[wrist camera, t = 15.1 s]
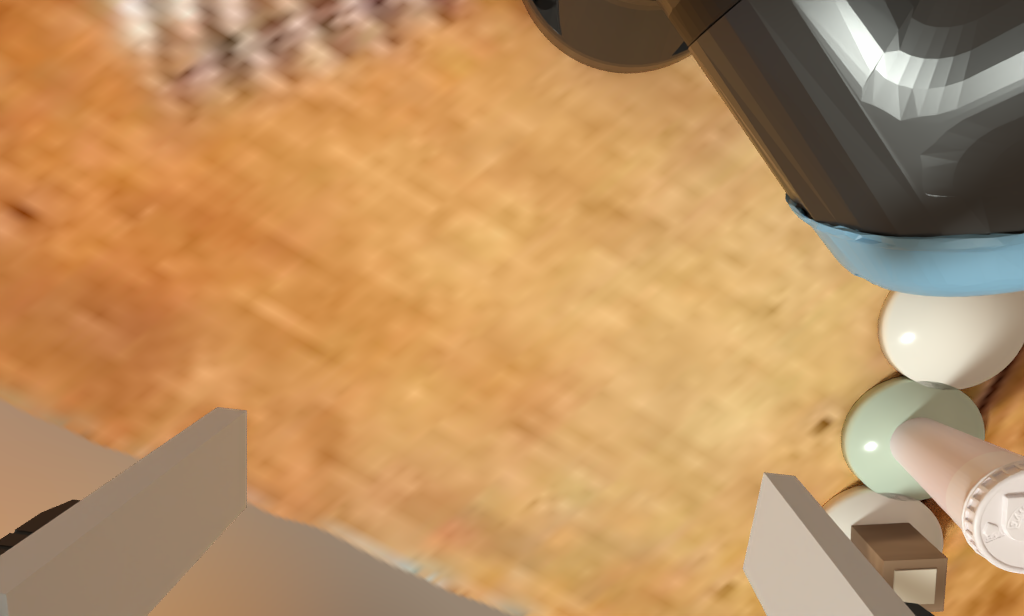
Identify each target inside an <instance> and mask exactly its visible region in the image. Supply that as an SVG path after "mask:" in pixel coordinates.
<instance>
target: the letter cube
mask: <svg viewBox="0 0 1024 616" xmlns="http://www.w3.org/2000/svg"><path fill="white" fill-rule="evenodd" d="M851 541H852V543H853V544H854V545H855V546H856V547H857V548H858V550H859V551H860V552H861V553H862V554H863V555H864V557H865V558H866V559H867V560H868V561H869V562H870V563H871V565H872V566H873V567H874V568H875V569H876V570H877V572H878V573H879V574H880V575H881V576H882V577H883V579H884V580H885V581H886V582H887V583H888V584H889V585H890V587H891V588H892V589H893V590H894V591H895V592H896V594H897V595H898V596H899V597H900V598H901V599H902V601H903V602H909V603H917V604H919V605H921V606H922V607H923V608H925V609H926V610H927V611H929V612H940V611H944V599H945V586H946V573H947V560H948V558H947V557H946V556H945V555H944V554H942V553H941V552H940V551H939V550H938V549H937V548H936V547H935V546H934V545H933V544H932V543H930V542H929V541H928V540H927V539H926V538H925V537H924V536H923V535H922V534H921V533H920V532H918V531H917V530H916V529H915V528H914V527H913V526H912V525H911V524H910V523H889V524H869V525H851Z"/></svg>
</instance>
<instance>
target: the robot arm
mask: <svg viewBox="0 0 1024 616" xmlns="http://www.w3.org/2000/svg"><path fill="white" fill-rule="evenodd" d="M522 1H523V3H524V5H525V7H526V9H527V11H528V13H529V15H530V17H531V18H532V20H533V21H534V23H535V24H536V26H537V27H538V28H539V30H540V31H541V32H542V33H543V34H544V35H545V37H546V38H547V39H548V40H549V41H550V42H551V43H552V44H553V45H555V46H556V47H557V48H558V49H559V50H561V51H562V52H564V53H565V54H566V55H568V56H569V57H571V58H573V59H575V60H576V61H578V62H580V63H583V64H585V65H587V66H590V67H593V68H596V69H599V70H604V71H608V72H616V73H640V72H647V71H653V70H657V69H660V68H664V67H666V66H669V65H672V64H674V63H676V62H679V61H681V60H683V59H685V58H686V57H688V56H690V55H691V54H692V55H693V57H694V58H695V60H696V61H697V63H698V64H699V66H700V67H701V69H702V70H703V72H704V73H705V74H706V76H707V77H708V79H709V80H710V82H711V83H712V85H713V86H714V88H715V89H716V91H717V92H718V94H719V95H720V96H721V98H722V99H723V101H724V102H725V104H726V105H727V107H728V108H729V110H730V111H731V113H732V114H733V115H734V117H735V118H736V120H737V121H738V123H739V124H740V126H741V127H742V129H743V130H744V132H745V133H746V135H747V136H748V137H749V139H750V140H751V142H752V143H753V145H754V146H755V148H756V149H757V151H758V152H759V154H760V155H761V157H762V158H763V159H764V161H765V162H766V164H767V165H768V167H769V168H770V170H771V171H772V173H773V174H774V176H775V177H776V179H777V180H778V181H779V183H780V184H781V186H782V187H783V189H784V190H785V192H786V201H787V203H788V204H789V206H790V208H791V209H792V211H793V212H794V213H795V214H796V215H797V216H798V217H799V218H800V219H802V220H803V221H804V222H806V223H807V224H809V225H810V226H811V227H812V228H813V229H814V230H815V232H816V233H817V234H818V236H819V237H820V238H821V240H822V241H823V242H824V244H825V245H826V246H827V248H828V249H829V250H830V251H831V253H832V254H833V255H834V257H835V258H836V259H837V260H838V262H839V263H840V264H841V265H842V266H843V267H845V268H846V269H847V270H848V271H850V272H851V273H852V274H854V275H856V276H858V277H862V278H864V279H866V280H868V281H869V282H871V283H872V284H875V285H878V286H880V287H882V288H885V289H888V290H892V291H896V292H901V293H907V294H913V295H921V296H935V297H969V296H984V295H995V294H1004V293H1012V292H1018V291H1024V0H522ZM246 507H247V411H246V410H238V409H229V408H221V407H217V408H215V409H214V410H212V411H211V412H210V413H208V414H207V415H205V416H204V417H202V418H201V419H199V420H198V421H196V422H195V423H193V424H192V425H191V426H189V427H188V428H186V429H185V430H183V431H182V432H180V433H179V434H177V435H176V436H174V437H173V438H172V439H170V440H169V441H167V442H166V443H164V444H163V445H161V446H160V447H158V448H157V449H155V450H154V451H153V452H151V453H150V454H148V455H147V456H145V457H144V458H142V459H141V460H139V461H138V462H137V463H135V464H133V465H132V466H131V467H129V468H128V469H126V470H125V471H123V472H122V473H120V474H119V475H118V476H116V477H115V478H113V479H112V480H110V481H109V482H107V483H106V484H104V485H103V486H101V487H100V488H98V489H97V490H95V491H94V492H93V493H91V494H90V495H88V496H87V497H85V498H84V499H82V500H81V501H80V500H71V501H68V502H66V503H64V504H61V505H59V506H56V507H54V508H52V509H49V510H47V511H44V512H42V513H40V514H39V515H37V516H35V517H34V518H32V519H31V520H29V521H28V522H26V523H25V524H23V525H22V526H20V527H19V528H17V529H16V530H15V532H14V533H9V534H8V535H6V536H5V537H3V538H2V539H0V616H147V615H148V614H149V613H150V612H151V611H152V610H153V608H154V607H155V606H156V605H157V604H158V603H159V602H160V601H161V600H162V599H163V598H164V597H165V595H166V594H167V593H168V592H169V591H170V590H171V589H172V588H173V587H174V586H175V585H176V584H177V582H178V581H179V580H180V579H181V578H182V577H183V576H184V575H185V573H187V572H188V570H189V569H190V568H191V567H192V566H193V565H194V564H195V563H196V562H197V561H198V560H199V558H200V557H201V556H202V555H203V554H204V553H205V552H206V551H207V550H208V549H209V547H210V546H211V545H212V544H213V543H214V542H215V541H216V540H217V539H218V538H219V537H220V536H221V535H222V533H223V532H224V531H225V530H226V529H227V528H228V527H229V526H230V525H231V524H232V522H233V521H234V520H235V519H236V518H237V517H238V516H239V515H240V514H241V513H242V512H243V511H244V509H245V508H246ZM743 570H744V572H745V574H746V576H747V578H748V580H749V582H750V584H751V586H752V588H753V590H754V592H755V594H756V595H757V597H758V599H759V601H760V603H761V605H762V607H763V609H764V611H765V613H766V615H767V616H934V615H933V614H931V613H930V612H929V611H927V610H926V609H925V608H923V607H922V606H921V605H919V604H917V603H909V602H903V601H902V599H901V598H900V597H899V596H898V595H897V594H896V592H895V591H894V590H893V589H892V588H891V587H890V585H889V584H888V583H887V582H886V581H885V580H884V579H883V577H882V576H881V575H880V574H879V573H878V572H877V570H876V569H875V568H874V567H873V566H872V565H871V563H870V562H869V561H868V560H867V559H866V558H865V557H864V555H863V554H862V553H861V552H860V551H859V550H858V548H857V547H856V546H855V545H854V544H853V543H852V541H851V540H850V539H849V538H848V537H847V536H846V535H845V533H844V532H843V531H842V530H841V529H840V528H839V526H838V525H837V524H836V523H835V522H834V521H833V519H832V518H831V517H830V516H829V515H828V514H827V513H826V511H825V510H824V509H823V508H822V507H821V506H820V504H819V503H818V502H817V501H816V500H815V499H814V497H813V496H812V495H811V494H810V493H809V492H808V491H807V489H806V488H805V487H804V486H803V485H802V484H801V482H800V481H799V480H798V479H797V478H796V477H795V476H790V475H782V474H774V473H765V472H764V474H763V479H762V483H761V488H760V492H759V497H758V501H757V506H756V511H755V515H754V520H753V524H752V529H751V533H750V538H749V543H748V547H747V552H746V556H745V561H744V565H743Z"/></svg>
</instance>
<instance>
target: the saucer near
mask: <svg viewBox="0 0 1024 616" xmlns="http://www.w3.org/2000/svg"><path fill="white" fill-rule="evenodd" d="M878 338H879V344H880V347H881V350H882V352H883V354H884V356H885V358H886V359H887V360H888V362H889V363H890V364H891V365H892V366H893V367H894V369H896V370H897V371H898V372H899V373H901V374H902V375H904V376H906V377H908V378H910V379H912V380H914V381H915V382H917V383H919V384H920V383H921V384H922V385H924V386H926V385H925V384H928V385H927V387H930V386H931V387H933V386H934V385H935V384H936V385H938V386H935V387H936V388H935V387H934V388H935V389H938V387H939V389H940V387H941V390H942V389H944V390H945V389H946V390H947V389H948V390H949V388H951V387H949V388H946V387H945V388H944V385H943V384H947V385H948V386H952V387H955V388H957V389H965V388H969V387H973V386H975V385H978V384H981V383H983V382H985V381H987V380H989V379H991V378H992V377H994V376H995V375H997V374H998V373H999V372H1001V371H1002V370H1003V369H1005V368H1006V367H1007V366H1008V365H1009V364H1010V363H1011V362H1012V360H1013V359H1014V358H1015V356H1016V355H1017V354H1018V352H1019V351H1020V349H1021V347H1022V346H1023V343H1024V291H1018V292H1012V293H1004V294H995V295H984V296H969V297H935V296H921V295H913V294H907V293H901V292H896V291H892V290H891V291H890V292H889V294H888V295H887V297H886V299H885V301H884V303H883V306H882V308H881V311H880V315H879V319H878ZM918 381H919V382H918ZM928 381H929V383H930V384H929V383H928ZM923 382H924V383H923ZM925 382H926V383H925ZM936 382H937V383H936ZM933 383H935V384H934V385H933ZM938 383H941V384H938ZM931 384H932V385H933V386H932V385H931ZM939 385H940V386H939ZM941 385H943V386H941ZM942 387H943V388H942ZM957 389H956V390H957ZM951 390H952V389H951ZM953 390H954V389H953Z"/></svg>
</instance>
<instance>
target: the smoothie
mask: <svg viewBox="0 0 1024 616" xmlns="http://www.w3.org/2000/svg"><path fill="white" fill-rule="evenodd" d="M890 450H891V453H892V455H893V457H894V458H895V459H896V460H897V461H898V462H899V463H900V464H901V465H902V466H903V468H904V469H905V470H906V471H907V472H908V473H909V474H910V475H911V476H912V477H913V478H914V479H915V480H916V481H917V482H918V483H919V484H920V486H921V487H922V488H923V489H924V490H925V491H926V492H927V493H928V494H929V495H930V496H931V497H932V498H933V499H934V500H935V501H936V502H937V504H938V505H939V506H940V507H941V508H942V509H943V510H944V511H945V512H946V513H947V514H948V515H949V516H950V517H951V518H952V519H953V521H954V522H955V523H956V524H957V525H958V526H959V527H960V528H961V529H962V531H963V534H964V536H965V538H966V541H967V543H968V544H969V545H970V546H971V547H972V548H973V549H974V551H975V552H976V553H978V554H979V555H981V556H983V557H984V558H986V559H987V560H988V561H989V562H990V563H992V564H993V565H995V566H997V567H999V568H1001V569H1003V570H1006V571H1009V572H1014V573H1022V574H1024V456H1022V455H1019V454H1016V453H1014V452H1011V451H1009V450H1006V449H1004V448H1001V447H999V446H996V445H994V444H991V443H989V442H986V441H984V440H981V439H979V438H976V437H974V436H971V435H969V434H966V433H964V432H962V431H959V430H957V429H954V428H952V427H949V426H947V425H944V424H942V423H939V422H937V421H934V420H932V419H929V418H923V417H918V418H913V419H910V420H907V421H905V422H903V423H902V424H901V425H899V426H898V427H897V428H896V430H895V431H894V433H893V434H892V437H891V440H890Z"/></svg>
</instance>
